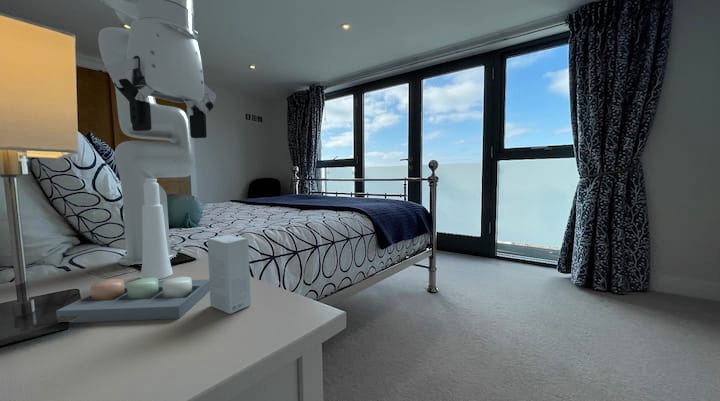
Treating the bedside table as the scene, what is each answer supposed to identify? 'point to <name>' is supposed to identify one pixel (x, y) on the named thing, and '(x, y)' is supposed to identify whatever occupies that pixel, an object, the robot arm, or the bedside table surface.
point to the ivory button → (177, 287)
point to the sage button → (142, 288)
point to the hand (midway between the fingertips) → (173, 134)
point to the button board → (135, 306)
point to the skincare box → (229, 273)
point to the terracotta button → (107, 290)
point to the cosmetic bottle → (154, 235)
